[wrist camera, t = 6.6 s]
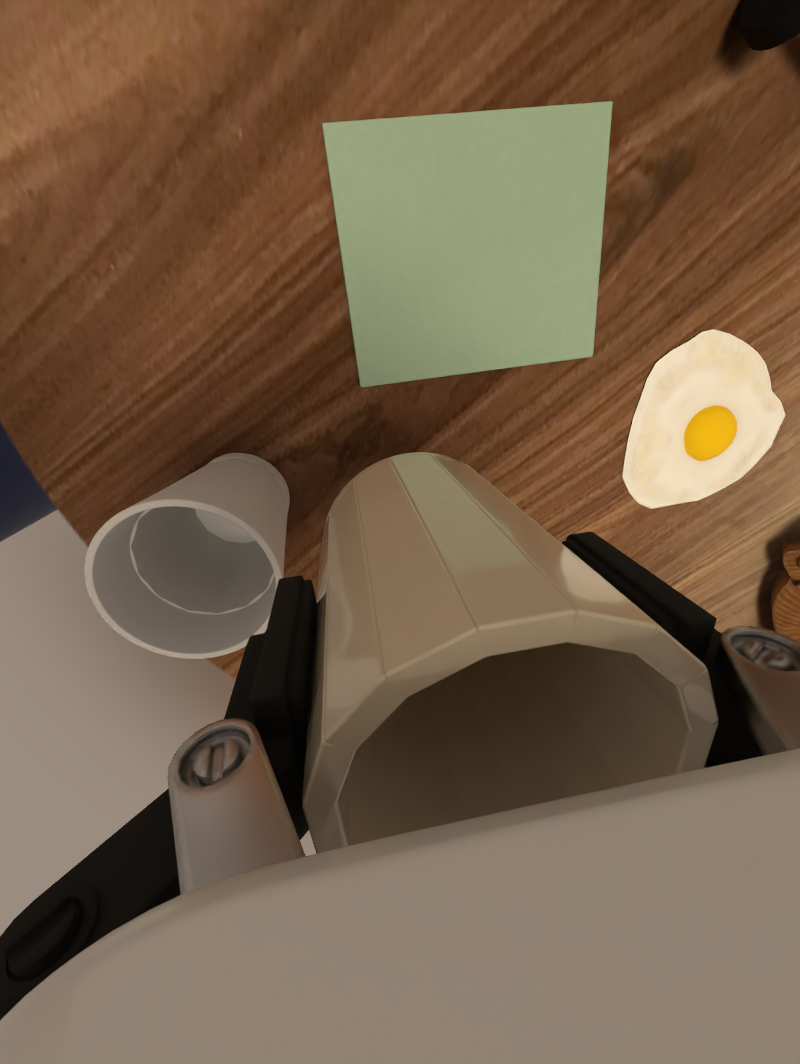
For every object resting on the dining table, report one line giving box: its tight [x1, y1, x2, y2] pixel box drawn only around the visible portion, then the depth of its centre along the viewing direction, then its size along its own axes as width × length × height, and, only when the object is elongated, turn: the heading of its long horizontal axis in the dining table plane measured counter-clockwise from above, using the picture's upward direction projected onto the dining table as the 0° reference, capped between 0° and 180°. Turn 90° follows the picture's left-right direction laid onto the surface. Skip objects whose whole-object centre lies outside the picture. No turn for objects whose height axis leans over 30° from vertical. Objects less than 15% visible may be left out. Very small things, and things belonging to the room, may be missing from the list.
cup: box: [84, 453, 290, 659], centre depth 23 cm, size 8×8×12 cm
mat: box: [322, 101, 613, 388], centre depth 25 cm, size 16×13×1 cm
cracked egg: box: [623, 329, 785, 509], centre depth 31 cm, size 14×13×1 cm
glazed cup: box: [302, 452, 719, 854], centre depth 10 cm, size 6×6×9 cm
